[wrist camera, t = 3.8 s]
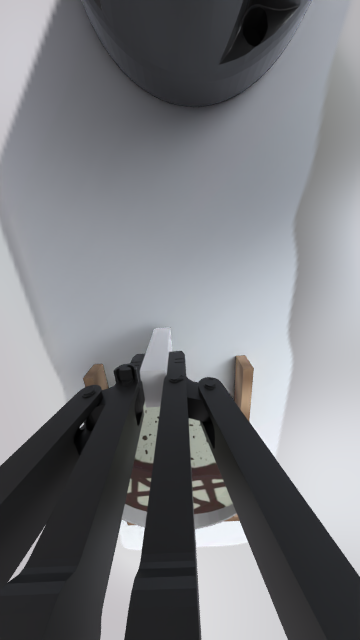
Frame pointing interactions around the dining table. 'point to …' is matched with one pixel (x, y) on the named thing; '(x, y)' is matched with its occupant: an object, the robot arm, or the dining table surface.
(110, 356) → the dining table surface
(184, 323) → the dining table surface
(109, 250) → the dining table surface
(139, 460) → the food container
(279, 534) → the robot arm
